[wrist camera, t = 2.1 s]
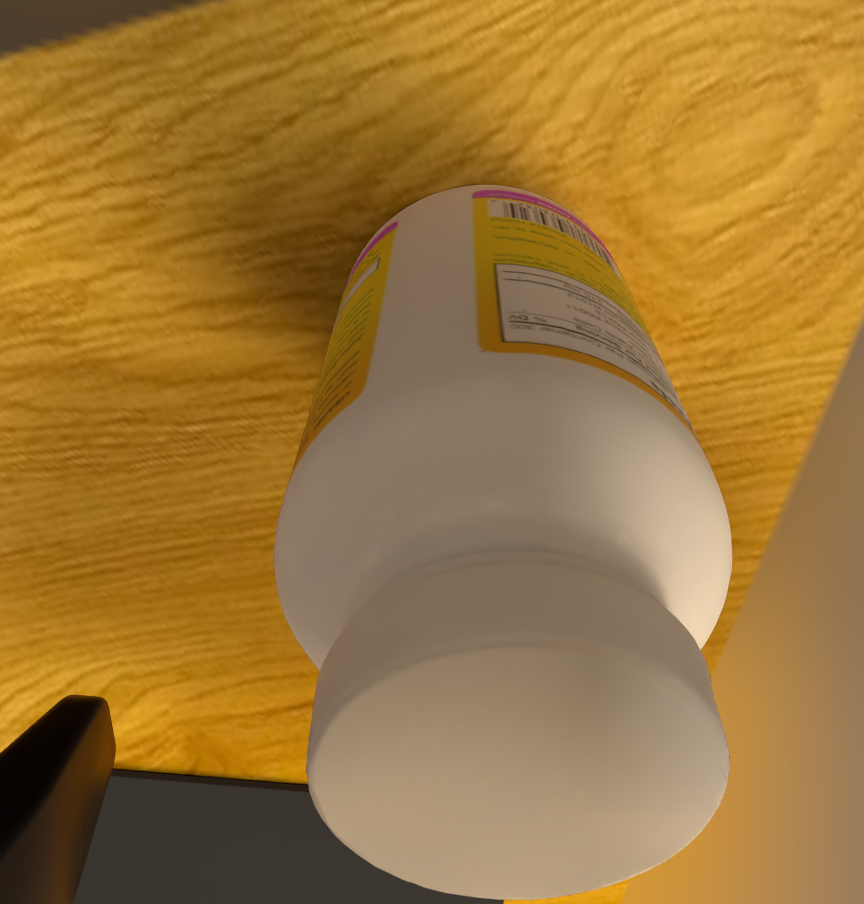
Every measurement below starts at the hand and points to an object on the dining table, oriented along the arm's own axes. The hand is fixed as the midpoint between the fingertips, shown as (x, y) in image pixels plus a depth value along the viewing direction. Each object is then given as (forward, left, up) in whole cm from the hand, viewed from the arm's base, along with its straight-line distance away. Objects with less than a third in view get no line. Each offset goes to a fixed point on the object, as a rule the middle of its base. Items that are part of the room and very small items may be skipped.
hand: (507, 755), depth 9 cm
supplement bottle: (0, 0, -13) cm, 13 cm away
